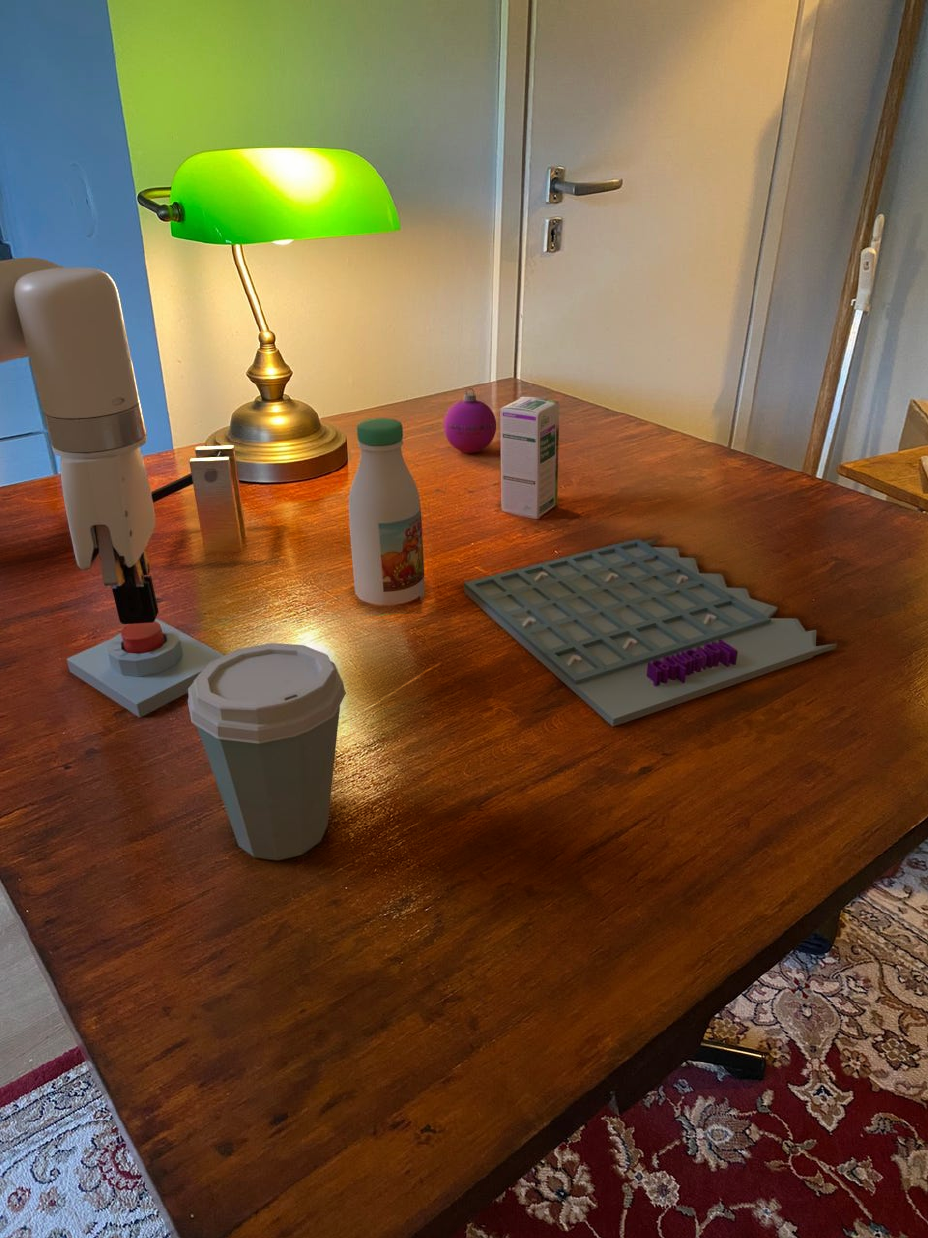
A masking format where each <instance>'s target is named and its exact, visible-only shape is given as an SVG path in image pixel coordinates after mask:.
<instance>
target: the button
mask: <svg viewBox="0 0 928 1238" xmlns="http://www.w3.org/2000/svg"><path fill="white" fill-rule="evenodd" d="M120 633H121V635H122V639H123V643H124V648H125V650H126V651H127V652H128V653H135V654H142V653H147V652H152V651H154V650H156V649H158V648H160V647H162V646H163V644H164V638H163V633H162V628H161V625H160V624H159V623H158V622H156V621H154V622H152V623H137V624H126V625H125V626H124V627H123V628H122V629H121V632H120Z"/></svg>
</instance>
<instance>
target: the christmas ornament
mask: <svg viewBox="0 0 928 1238" xmlns="http://www.w3.org/2000/svg"><path fill="white" fill-rule="evenodd" d="M468 390H471V391H472V392H467V391H468ZM443 432H444V435H445V438H446V440H447V441H448V442H449V444H450V445H451V446H452V447H453V448H455V449H456V450H457V451H461V452H463V453H470V454H471V453H477V452H480V451H482V450H484V449H486V448H487V447H488V446H489V445H490V444H491V442H492V441H493V440H494V438H495V435H496V432H497V420H496V416H495V414H494V412H493V410H492V409H491V408H490V406H488V405H487V404H486V403H485V402H483V401H480V400H479V399H477V396H476V393H475V390H474V389H473V388H472V387H468V388H467V389H466V390H465V393H464V394H463V400H459V401H457V402H455V403H453V404H452V406H451V407H450V408H449V409H448V410H447V412H446V414H445V416H444V420H443Z"/></svg>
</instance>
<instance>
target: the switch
mask: <svg viewBox="0 0 928 1238" xmlns="http://www.w3.org/2000/svg"><path fill="white" fill-rule="evenodd" d="M218 457H224V456H223V454H222V453H221V451H220V452H218V453H216V454H213V455H211V456H209V457H207V458H218ZM192 485H193V480H192V475H191V472H190V473H189V474H186V475H184V476H181V477H179V478H178V479H175V480H174V481H171V482H169V483H167V484H165V485H163V486H161V487H159V488H156V489H154V490H152V491H151V494H152V499H153V504H154V503H156V502H158V501H160V500H162V499H164V498H167V497H169V496H170V495H171V496H172V495H173V494H175V493H177V492H179V491H181V490H183V489H186V488H188V487H190V486H192Z"/></svg>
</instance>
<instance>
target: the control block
mask: <svg viewBox="0 0 928 1238" xmlns="http://www.w3.org/2000/svg"><path fill="white" fill-rule="evenodd" d="M155 621H156V622H158V623H159V624H160V625H161V628H162V633H163V638H164V644H163V646H162V647H160V648H158V649H156V650H154V651H152V652H147V653H142V654H135V653H128V652H127V651H126V650H125V648H124V643H123V639H122V635H121V632H120V633H117V634H116V635H115V636H114V637H112V638H109V639H108V640H105V641H103V642H101V643H98V644H96V645H94V646H92V647H89V648H88V649H85V650H83V651H81V652H78V653H76V654H74V655H72V656H70V657H67V658H66V662H67V666H68V670H69V672H70V673H71V674H73V675H74V676H76V677H77V678H79V679H81V680H82V681H83V682H85V683H86V684H88V685H89V686H91V687H92V688H94V689H95V690H97V691H99V692H100V693H101V694H103V695H105V697H108V698H109V699H111V700H112V701H114V702H115V703H117V704H118V705H119V706H121V707H122V708H124V709H126V710H128V711H129V712H131V713H132V714H133V715H135V716H137V718H142V717H144V716H146V715H148V714H150V713H152V712H154V711H156V710H157V709H159V708H161V707H163V706H166V705H167V704H169V703H171V702H173V701H174V700H176V699H178V698H180V697H182V696H184V695H186V694H188V688H189V687H190V686H191V685H192V683H193V682H194V680H195V679H196V678H197V676H198V675H199V674H200V673H201V672H202V671H203V670H204V668H205V667H206V666H207V665H208V664H209V663H210V662H211V661H214V660H216V659H218V658H220V657H222V656H224V655H225V654H223V653H222V652H220V651H218V650H217V649H214V648H213V647H211V646H209V645H207V644H205V643H203V642H201V641H200V640H197V639H196V638H194V637H192V636H190V635H188V634H186V633H184V632H183V631H181V630H179V629H177V628H175V627H173V626H171V625H170V624H169V623H166V622H164V621H162V620H161V619H158V618H156V619H155Z"/></svg>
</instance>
